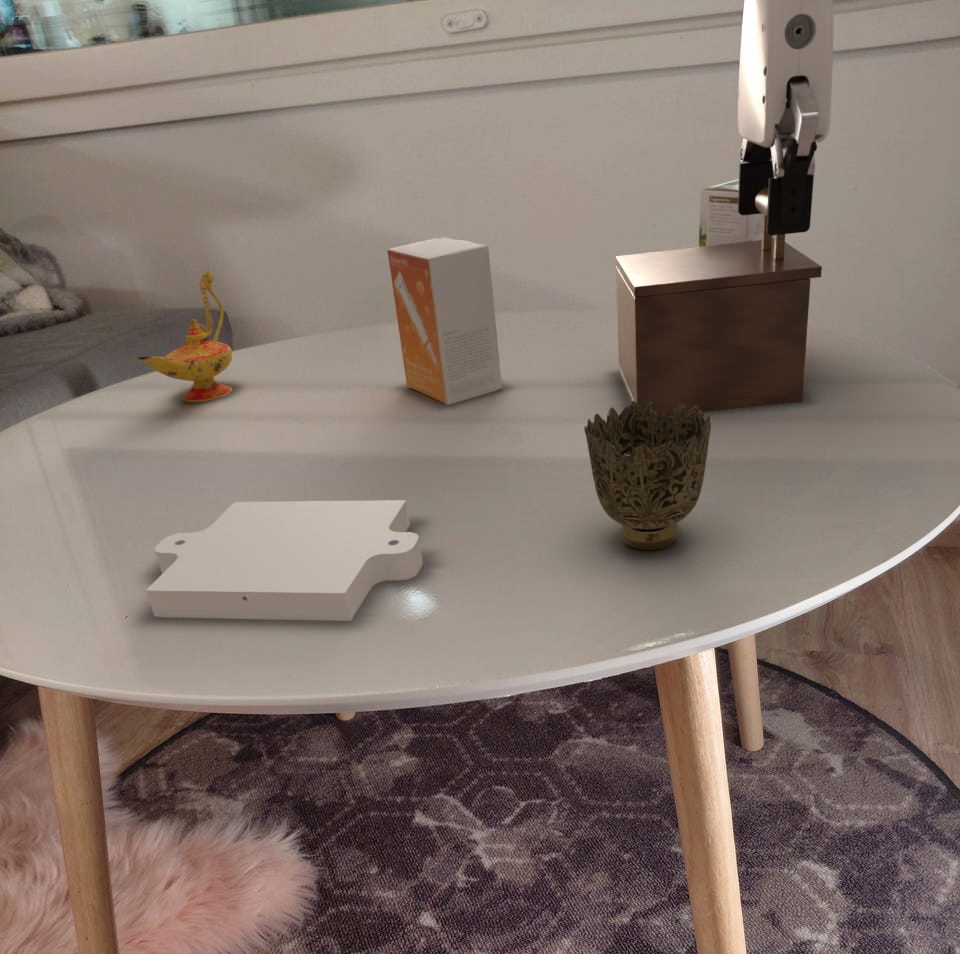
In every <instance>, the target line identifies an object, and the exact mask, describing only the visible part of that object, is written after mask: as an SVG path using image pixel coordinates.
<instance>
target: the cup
mask: <svg viewBox="0 0 960 954" xmlns="http://www.w3.org/2000/svg"><path fill="white" fill-rule="evenodd" d="M642 408H643V407H642V406H640V405H639V404H638V403H637V402H635V401H632V402H631V401H630V402H629V403H628V404H627V405H626V406H625V407H624V408H623V410H621V413H620V414H618V412H617V411H616V409H615V408H614V407H613V406H610V408H609V410H608V412H607V414H606V420H605V419H603V418H602V417H601V415H600V414H599V413H595V414H594V417H593V421H592V420H591V418H588V419H587V422H586V423H587V424H586V425H584V427H583V428H584V429H583V430H584V433H585V437H586V438H585V439H586V443H587V450H588V455H589V461H590V465H591V466H590V468H591V473H592V478H593V483H594V488H595V492H596V495H597V498H598V501H599V504H600V505H601V507H602V510H603V511H604V512H605V513H606V514H607V516H608V517H609V518H610V519H611V520H613V521H614V522H615V523H618V524H619V525H620V528H619V534H620V536H621V538H622V540H623V542H624V543H625V544H626V545H628V546H629V547H630V548H634V549H637V550H643V551H653V550H654V551H655V550H659V549H663V548H666V547H668V546H670V545H671V544H672V543H674V542H675V541H676V539H677V536H678V534H679V531H680V526H679V522H681V521H683V520H684V519H685V518H687V516H688V515H690V514H691V513H692V511H693V509H695V507H696V505H697V502H698V500H699V498H700V495H701V492H702V489H703V485H704V479H705V474H706V466H707V458H708V450H709V443H710V436H711V435H710V434H711V431H712V430H711V429H712V423H711V416H710V414H709V415H707V417H705V416H706V415H705V413H704V412H702V411H701V409H700V407H699V406H695V407H693V408H692V409H690V410H689V411H687V410H686V406H685V405H683V404H681V403H679V404H678V405H677V406H676V407H675V409H674V413H673V414H674V415H673V414H672V415H668V414H666V413H664V414H659V415H658V413H657V412H656V411H655V406H654V403H652V402H650V403H649V404H648V405H647V407H646V409H645V410H643V409H642ZM661 415H663V416H661Z"/></svg>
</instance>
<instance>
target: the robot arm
mask: <svg viewBox="0 0 960 954" xmlns="http://www.w3.org/2000/svg"><path fill="white" fill-rule="evenodd" d="M742 13H743V15H742V16H743V17H742V25H741V27H740V28H741V38H740V50H739V51H740V52H739V70H738V88H737V128H738V133H739V135H740V137H742V142H741V146H740V151H739V159H740V163H739V168H738V171H739V172H738V179H739V191H738V213H739V214H741V215H752V214H762V213H761V212H760V211H758V209H757V208H756V205H755V199H756V196H757V194H758V193H759V192H760V191H761V190H762V189H764V188H766V187H768V205H767V223H766V231H767V233H768V234H770V235H781V234H785V235H789V234H800V233H806V232H808V231H809V230H810V228H811V220H812V219H811V218H812V205H813V194H814V193H813V191H814V178H815V172H816V159H815V152H817V150H818V149H817V148H818V144H817V143H822V142H823V141H824V140H826V138H828V136H829V134H830V130H831V114H832V113H831V111H832V93H833V92H832V89H833V66H834V65H833V63H834V0H744V3H743V12H742ZM784 150H785V153H784Z"/></svg>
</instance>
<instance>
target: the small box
mask: <svg viewBox="0 0 960 954" xmlns="http://www.w3.org/2000/svg"><path fill="white" fill-rule="evenodd" d="M386 251H387V258H388V263H389V269H390V271H389V272H390V279H391V284H392V290H393V291H392V292H393V299H394V305H395V314H396V319H397V326H398V332H399V333H398V334H399V341H400V346H401V355H402V361H403V369H404V375H405V383H406V387H407V388H408V389H409V388H410V389H412V390H414V391H417V392H419V393H421V394H423V395H425V396H428V397H430V398H432V399H434V400H437V401H438V402H441V403H443V404H444V405H446V406H450V405H454V404H456V403H459V402H462V401H466V400H470V399H473V398H476V397H480V396H483V395H487V394H490V393H493V392H497V391H499V390H501V389H503V383H502V373H501V372H502V371H501V364H500V353H499V344H498V343H499V342H498V331H497V322H496V321H497V320H496V312H495V311H496V310H495V304H494V303H495V300H494V290H493V280H492V270H491V260H490V252H489V251H490V250H489V245H488V244H481V243H476V242H473V241H469V240H466V239H465V240H464V239H455V238H450V237H436V238H431V239H426V240H421V241H417V242H416V241H415V242H412V243H408V244H403V245H399V246H395V247H391V248H387V250H386Z"/></svg>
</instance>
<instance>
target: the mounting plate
mask: <svg viewBox="0 0 960 954" xmlns="http://www.w3.org/2000/svg"><path fill="white" fill-rule="evenodd" d="M410 526H411V521H410V517H409V510H408V503H407V500H406V499H395V500H393V499H391V500H390V499H385V500H379V499H377V500H301V501H300V500H299V501H298V500H297V501H295V500H293V501H291V500H289V501H287V500H285V501H283V500H282V501H234V502H233V503H232V504H231V505H230V506H229V507H228V508H227V509H226V510H225V511H223V513H221V515H220V516H219V517H218V518H216V520H214V522H213V523H212V524H211V525H209V526H208V527H207V528H204V529H202V530H199V531H194V532H177V533H172V534H171V535H168V536H166V537H164V538H163V539H162V540H161V541H160V542H159V543H158V544H156V546H155V547H154V553H155V556H156V559H157V562H158V565H159V568H160V571H161V575H159V577H158V578H157V579H156V580H155V581H153V583H152V584H151V585H150V586H148V587H147V588H146V590H145V592H146V595H147V599H148V601H149V605H150V608H151V611H152V614H153V617H154V618H177V619H178V618H179V619H180V618H181V619H182V618H186V619H187V618H188V619H227V620H228V619H229V620H230V619H232V620H233V619H234V620H279V621H281V620H283V621H284V620H285V621H329V622H331V621H332V622H351V621H352V620H353V618H354V617H355V615H356V614H357V612H358V610H359V609H360V607H361V605H363V602H364V601H365V599H366V597H367V596H368V594H369V592H370V591H371V589H372V588H373V587H374V586H376V584H380V583H382V582H387V581H406V580H407V581H408V580H410V579H412V578H415V577H416V576H417V575H418V574H419V573H420V571H421V569H422V567H423V565H424V562H423V555H422V549H421V543H420V537H419V535H418V534H417V533H416V532H411V531H408V529H409V528H410Z"/></svg>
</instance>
